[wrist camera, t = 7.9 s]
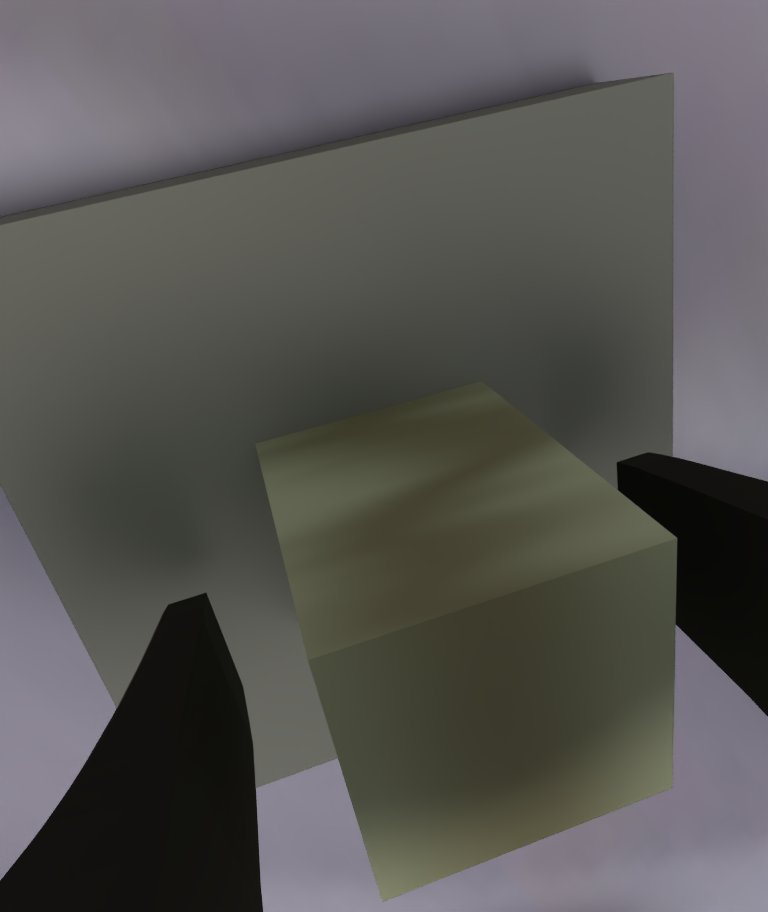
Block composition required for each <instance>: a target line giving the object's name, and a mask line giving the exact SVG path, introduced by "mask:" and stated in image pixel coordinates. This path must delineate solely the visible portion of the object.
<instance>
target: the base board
mask: <svg viewBox="0 0 768 912" xmlns="http://www.w3.org/2000/svg"><path fill="white" fill-rule="evenodd" d="M673 128H674V73H667V74H660V75H652V76H645V77H638V78H630V79H623V80H616V81H608V82H601V83H595V84H590V85H586V86H582V87H577V88H573V89H568V90H564V91H559V92H555V93H550V94H546V95H541V96H537V97H533V98H528V99H524V100H519V101H515V102H510V103H506V104H501V105H497V106H493V107H488V108H484V109H479V110H475V111H470V112H466V113H461V114H457V115H453V116H448V117H444V118H439V119H435V120H430V121H426V122H421V123H417V124H413V125H408V126H404V127H399V128H395V129H390V130H386V131H381V132H377V133H372V134H368V135H364V136H359V137H355V138H350V139H346V140H341V141H337V142H332V143H328V144H324V145H319V146H315V147H310V148H306V149H301V150H297V151H292V152H288V153H284V154H279V155H275V156H270V157H266V158H261V159H257V160H252V161H248V162H244V163H239V164H235V165H230V166H226V167H221V168H217V169H212V170H208V171H204V172H199V173H195V174H190V175H186V176H181V177H177V178H172V179H168V180H163V181H159V182H155V183H150V184H146V185H141V186H137V187H132V188H128V189H123V190H119V191H115V192H110V193H106V194H101V195H97V196H92V197H88V198H83V199H79V200H75V201H70V202H66V203H61V204H57V205H52V206H48V207H43V208H39V209H35V210H30V211H26V212H21V213H17V214H12V215H8V216H3V217H0V485H1V487H2V488H3V490H4V492H5V494H6V496H7V498H8V500H9V502H10V504H11V506H12V508H13V510H14V511H15V513H16V515H17V517H18V519H19V521H20V523H21V525H22V527H23V529H24V531H25V533H26V535H27V536H28V538H29V540H30V542H31V544H32V546H33V548H34V550H35V552H36V554H37V556H38V558H39V560H40V561H41V563H42V565H43V567H44V569H45V571H46V573H47V575H48V577H49V579H50V581H51V583H52V584H53V586H54V588H55V590H56V592H57V594H58V596H59V598H60V600H61V602H62V604H63V606H64V608H65V609H66V611H67V613H68V615H69V617H70V619H71V621H72V623H73V625H74V627H75V629H76V631H77V633H78V634H79V636H80V638H81V640H82V642H83V644H84V646H85V648H86V650H87V652H88V654H89V656H90V657H91V659H92V661H93V663H94V665H95V667H96V669H97V671H98V673H99V675H100V677H101V679H102V681H103V682H104V684H105V686H106V688H107V690H108V692H109V694H110V696H111V698H112V700H113V702H114V704H115V705H116V707H118V705H119V703H120V701H121V699H122V697H123V695H124V693H125V692H126V690H127V688H128V686H129V684H130V682H131V680H132V678H133V676H134V674H135V672H136V670H137V668H138V666H139V664H140V662H141V660H142V657H143V655H144V653H145V651H146V649H147V647H148V645H149V643H150V640H151V638H152V636H153V634H154V632H155V629H156V627H157V625H158V623H159V621H160V618H161V616H162V614H163V612H164V610H165V609H166V607H167V605H168V604H171V603H175V602H178V601H181V600H184V599H187V598H190V597H193V596H197V595H200V594H203V593H207V596H208V598H209V601H210V603H211V606H212V608H213V611H214V613H215V616H216V618H217V621H218V623H219V626H220V629H221V631H222V634H223V636H224V639H225V641H226V644H227V646H228V649H229V651H230V654H231V657H232V659H233V662H234V664H235V667H236V669H237V672H238V674H239V677H240V679H241V682H242V685H243V688H244V694H245V699H246V705H247V710H248V716H249V722H250V728H251V734H252V740H253V749H254V766H255V784H256V788H257V787H260V786H263V785H265V784H268V783H271V782H274V781H276V780H279V779H282V778H285V777H287V776H290V775H293V774H295V773H298V772H301V771H304V770H306V769H309V768H312V767H315V766H317V765H320V764H323V763H326V762H328V761H331V760H334V759H337V758H338V756H337V753H336V750H335V747H334V743H333V740H332V737H331V734H330V730H329V727H328V724H327V721H326V717H325V714H324V711H323V708H322V705H321V701H320V698H319V695H318V692H317V688H316V685H315V682H314V679H313V675H312V672H311V669H310V666H309V662H308V659H307V655H306V651H305V647H304V642H303V638H302V634H301V630H300V626H299V622H298V618H297V614H296V610H295V605H294V601H293V597H292V593H291V589H290V585H289V581H288V577H287V573H286V568H285V564H284V560H283V556H282V552H281V548H280V544H279V540H278V536H277V531H276V527H275V523H274V519H273V515H272V511H271V507H270V503H269V499H268V494H267V490H266V486H265V482H264V478H263V474H262V470H261V466H260V462H259V458H258V453H257V449H256V445H255V444H256V443H259V442H263V441H267V440H270V439H274V438H277V437H281V436H285V435H288V434H292V433H295V432H299V431H303V430H306V429H310V428H314V427H317V426H321V425H324V424H328V423H332V422H335V421H339V420H342V419H346V418H350V417H353V416H357V415H361V414H364V413H368V412H371V411H375V410H379V409H382V408H386V407H389V406H393V405H397V404H400V403H404V402H408V401H411V400H415V399H418V398H422V397H426V396H429V395H433V394H437V393H440V392H444V391H447V390H451V389H455V388H458V387H462V386H465V385H469V384H473V383H476V382H480V381H482V382H484V383H485V384H486V385H487V386H489V387H490V388H491V389H492V390H494V391H495V392H496V393H497V394H499V395H500V396H501V397H502V398H504V399H505V400H506V401H507V402H509V403H510V404H511V405H512V406H513V407H515V408H516V409H517V410H518V411H520V412H521V413H522V414H523V415H525V416H526V417H527V418H528V419H530V420H531V421H532V422H533V423H535V424H536V425H537V426H538V427H540V428H541V429H542V430H543V431H545V432H546V433H547V434H548V435H550V436H551V437H552V438H553V439H555V440H556V441H557V442H558V443H560V444H561V445H562V446H563V447H565V448H566V449H567V450H568V451H569V452H571V453H572V454H573V455H574V456H576V457H577V458H578V459H579V460H581V461H582V462H583V463H584V464H586V465H587V466H588V467H589V468H591V469H592V470H593V471H594V472H596V473H597V474H598V475H599V476H601V477H602V478H603V479H604V480H606V481H607V482H608V483H609V484H611V485H612V486H613V487H614V488H616V489H617V490H618V484H617V462H619V461H622V460H625V459H628V458H631V457H634V456H638V455H641V454H644V453H647V452H651V453H656V454H662V455H667V456H671V457H672V438H673Z"/></svg>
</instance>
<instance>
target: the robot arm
mask: <svg viewBox="0 0 768 912" xmlns="http://www.w3.org/2000/svg"><path fill="white" fill-rule="evenodd" d="M617 484H618V491H619V492H621V493H622V494H623V495H624V496H626V497H627V498H628V499H629V500H630V501H632V502H633V503H634V504H635V505H637V506H638V507H639V508H640V509H642V510H643V511H644V512H645V513H647V514H648V515H649V516H650V517H652V518H653V519H654V520H655V521H657V522H658V523H659V524H660V525H662V526H663V527H664V528H665V529H667V530H668V531H669V532H670V533H672V534H673V535H674V536H675V537H677V575H676V625H677V626H678V627H679V628H680V629H681V630H682V631H683V632H684V633H685V634H686V635H687V636H688V637H689V638H690V639H691V640H692V641H693V642H694V643H695V644H696V645H697V646H698V647H699V648H700V649H701V650H702V651H703V652H704V653H705V654H707V655H708V656H709V657H710V658H711V659H712V660H713V661H714V662H715V663H716V664H717V665H718V666H719V667H720V668H721V669H722V670H723V671H724V672H725V673H726V674H727V675H728V676H729V677H730V678H731V679H732V680H733V681H734V682H735V683H736V684H737V685H738V686H739V687H740V688H741V689H742V690H743V691H744V692H745V693H746V694H747V695H748V696H749V697H750V698H751V699H752V700H753V701H754V702H755V703H756V704H757V705H758V707H759V708H760V709H761V710H762V711H763V712H764V713H765V714H766V715H767V716H768V482H767V481H763V480H759V479H756V478H752V477H748V476H744V475H740V474H737V473H733V472H729V471H725V470H722V469H718V468H714V467H711V466H707V465H703V464H699V463H695V462H691V461H688V460H684V459H680V458H675V457H671V456H667V455H662V454H656V453H651V452H647V453H644V454H641V455H638V456H634V457H631V458H628V459H625V460H622V461H619V462H617ZM0 912H263V906H262V895H261V883H260V864H259V844H258V824H257V803H256V784H255V766H254V749H253V740H252V734H251V728H250V722H249V716H248V710H247V705H246V699H245V694H244V688H243V685H242V682H241V679H240V677H239V674H238V672H237V669H236V667H235V664H234V662H233V659H232V657H231V654H230V651H229V649H228V646H227V644H226V641H225V639H224V636H223V634H222V631H221V629H220V626H219V623H218V621H217V618H216V616H215V613H214V611H213V608H212V606H211V603H210V601H209V598H208V596H207V593H203V594H200V595H197V596H193V597H190V598H187V599H184V600H181V601H178V602H175V603H171V604H168V605H167V607H166V609H165V610H164V612H163V614H162V616H161V618H160V621H159V623H158V625H157V627H156V629H155V632H154V634H153V636H152V638H151V640H150V643H149V645H148V647H147V649H146V651H145V653H144V655H143V657H142V660H141V662H140V664H139V666H138V668H137V670H136V672H135V674H134V676H133V678H132V680H131V682H130V684H129V686H128V688H127V690H126V692H125V693H124V695H123V697H122V699H121V701H120V703H119V705H118V707H117V709H116V711H115V713H114V715H113V716H112V718H111V720H110V722H109V723H108V725H107V727H106V729H105V730H104V732H103V734H102V735H101V737H100V739H99V741H98V742H97V744H96V746H95V747H94V749H93V751H92V753H91V754H90V756H89V758H88V760H87V761H86V763H85V764H84V766H83V768H82V769H81V771H80V772H79V774H78V776H77V777H76V779H75V780H74V782H73V783H72V785H71V787H70V788H69V790H68V791H67V793H66V794H65V796H64V797H63V799H62V800H61V801H60V803H59V804H58V806H57V807H56V809H55V810H54V811H53V813H52V814H51V816H50V817H49V819H48V820H47V821H46V823H45V824H44V826H43V827H42V828H41V830H40V831H39V832H38V834H37V835H36V836H35V838H34V839H33V840H32V842H31V843H30V844H29V845H28V847H27V848H26V849H25V850H24V852H23V853H22V854H21V855H20V857H19V858H18V859H17V860H16V862H15V863H14V864H13V865H12V867H11V868H10V869H9V870H8V872H7V873H6V874H5V875H4V877H3V878H2V879H1V881H0Z"/></svg>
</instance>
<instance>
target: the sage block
mask: <svg viewBox="0 0 768 912" xmlns="http://www.w3.org/2000/svg"><path fill="white" fill-rule="evenodd" d="M255 445H256V449H257V453H258V458H259V462H260V466H261V470H262V474H263V478H264V482H265V486H266V490H267V494H268V499H269V503H270V507H271V511H272V515H273V519H274V523H275V527H276V531H277V536H278V540H279V544H280V548H281V552H282V556H283V560H284V564H285V568H286V573H287V577H288V581H289V585H290V589H291V593H292V597H293V601H294V605H295V610H296V614H297V618H298V622H299V626H300V630H301V634H302V638H303V642H304V647H305V651H306V655H307V659H308V662H309V666H310V669H311V672H312V675H313V679H314V682H315V685H316V688H317V692H318V695H319V698H320V701H321V705H322V708H323V711H324V714H325V717H326V721H327V724H328V727H329V730H330V734H331V737H332V740H333V743H334V747H335V750H336V753H337V756H338V760H339V763H340V766H341V769H342V773H343V776H344V779H345V782H346V786H347V789H348V792H349V795H350V798H351V802H352V805H353V808H354V811H355V815H356V818H357V821H358V824H359V828H360V831H361V834H362V837H363V841H364V844H365V847H366V850H367V854H368V857H369V860H370V863H371V866H372V870H373V873H374V876H375V879H376V883H377V886H378V889H379V892H380V896H381V899H382V902H383V901H386V900H388V899H391V898H394V897H396V896H399V895H401V894H404V893H406V892H409V891H411V890H414V889H416V888H419V887H422V886H424V885H427V884H429V883H432V882H434V881H437V880H439V879H442V878H444V877H447V876H450V875H452V874H455V873H457V872H460V871H462V870H465V869H467V868H470V867H472V866H475V865H478V864H480V863H483V862H485V861H488V860H490V859H493V858H495V857H498V856H500V855H503V854H505V853H508V852H511V851H513V850H516V849H518V848H521V847H523V846H526V845H528V844H531V843H533V842H536V841H539V840H541V839H544V838H546V837H549V836H551V835H554V834H556V833H559V832H561V831H564V830H567V829H569V828H572V827H574V826H577V825H579V824H582V823H584V822H587V821H589V820H592V819H595V818H597V817H600V816H602V815H605V814H607V813H610V812H612V811H615V810H617V809H620V808H622V807H625V806H628V805H630V804H633V803H635V802H638V801H640V800H643V799H645V798H648V797H650V796H653V795H656V794H658V793H661V792H663V791H666V790H668V789H671V788H672V776H673V726H674V676H675V625H676V575H677V537H675V536H674V535H673V534H672V533H670V532H669V531H668V530H667V529H665V528H664V527H663V526H662V525H660V524H659V523H658V522H657V521H655V520H654V519H653V518H652V517H650V516H649V515H648V514H647V513H645V512H644V511H643V510H642V509H640V508H639V507H638V506H637V505H635V504H634V503H633V502H632V501H630V500H629V499H628V498H627V497H626V496H624V495H623V494H622V493H621V492H619V491H618V490H617V489H616V488H614V487H613V486H612V485H611V484H609V483H608V482H607V481H606V480H604V479H603V478H602V477H601V476H599V475H598V474H597V473H596V472H594V471H593V470H592V469H591V468H589V467H588V466H587V465H586V464H584V463H583V462H582V461H581V460H579V459H578V458H577V457H576V456H574V455H573V454H572V453H571V452H569V451H568V450H567V449H566V448H565V447H563V446H562V445H561V444H560V443H558V442H557V441H556V440H555V439H553V438H552V437H551V436H550V435H548V434H547V433H546V432H545V431H543V430H542V429H541V428H540V427H538V426H537V425H536V424H535V423H533V422H532V421H531V420H530V419H528V418H527V417H526V416H525V415H523V414H522V413H521V412H520V411H518V410H517V409H516V408H515V407H513V406H512V405H511V404H510V403H509V402H507V401H506V400H505V399H504V398H502V397H501V396H500V395H499V394H497V393H496V392H495V391H494V390H492V389H491V388H490V387H489V386H487V385H486V384H485V383H484V382H482V381H480V382H476V383H473V384H469V385H465V386H462V387H458V388H455V389H451V390H447V391H444V392H440V393H437V394H433V395H429V396H426V397H422V398H418V399H415V400H411V401H408V402H404V403H400V404H397V405H393V406H389V407H386V408H382V409H379V410H375V411H371V412H368V413H364V414H361V415H357V416H353V417H350V418H346V419H342V420H339V421H335V422H332V423H328V424H324V425H321V426H317V427H314V428H310V429H306V430H303V431H299V432H295V433H292V434H288V435H285V436H281V437H277V438H274V439H270V440H267V441H263V442H259V443H256V444H255Z"/></svg>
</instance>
